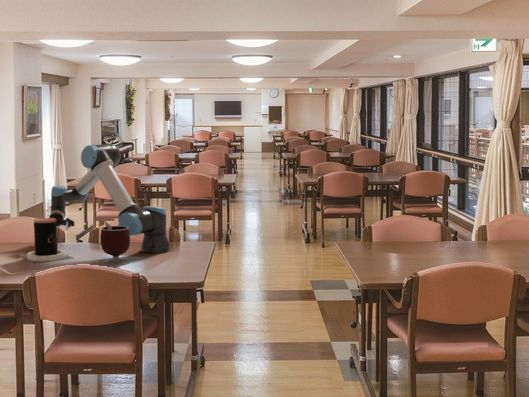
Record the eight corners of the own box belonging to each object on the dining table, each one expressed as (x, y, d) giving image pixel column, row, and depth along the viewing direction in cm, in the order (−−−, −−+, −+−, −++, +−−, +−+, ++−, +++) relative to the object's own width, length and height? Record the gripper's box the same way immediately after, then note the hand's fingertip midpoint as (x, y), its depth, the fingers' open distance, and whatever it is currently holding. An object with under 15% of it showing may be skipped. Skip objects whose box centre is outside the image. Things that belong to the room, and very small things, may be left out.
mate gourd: (136, 262, 353) (135, 221, 350) (113, 267, 342) (112, 225, 340) (116, 258, 363) (115, 218, 360) (93, 263, 352) (91, 222, 350)
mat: (74, 259, 361) (74, 258, 361) (34, 264, 349) (34, 263, 349) (57, 252, 379) (57, 251, 379) (19, 257, 367) (19, 256, 367)
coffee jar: (51, 258, 358) (49, 221, 355) (31, 257, 360) (29, 220, 358) (61, 253, 368) (60, 218, 366) (41, 253, 370) (40, 217, 368)
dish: (71, 257, 362) (71, 253, 362) (35, 262, 351) (34, 258, 351) (57, 252, 376) (57, 247, 376) (22, 256, 366) (22, 252, 365)
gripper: (80, 224, 397) (78, 234, 376) (32, 226, 392) (27, 236, 372) (80, 210, 395) (77, 219, 375) (31, 212, 391) (26, 221, 370)
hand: (52, 227), depth 373 cm, fingers open, 13 cm apart
